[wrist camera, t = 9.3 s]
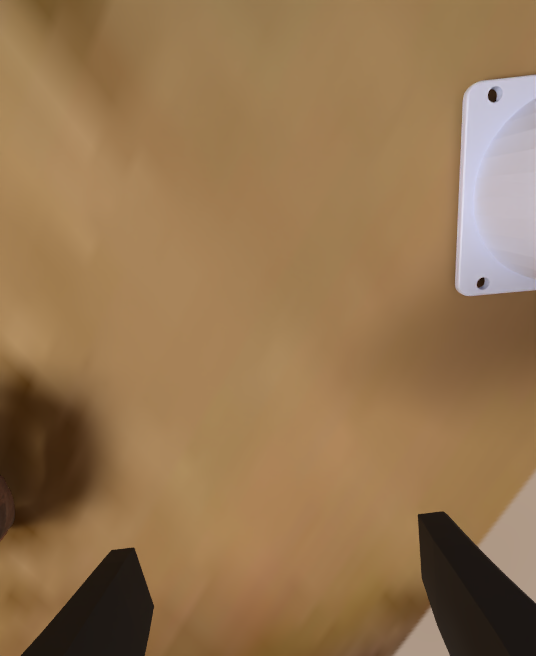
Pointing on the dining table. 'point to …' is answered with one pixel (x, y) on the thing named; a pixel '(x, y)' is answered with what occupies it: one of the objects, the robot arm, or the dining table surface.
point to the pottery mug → (5, 508)
